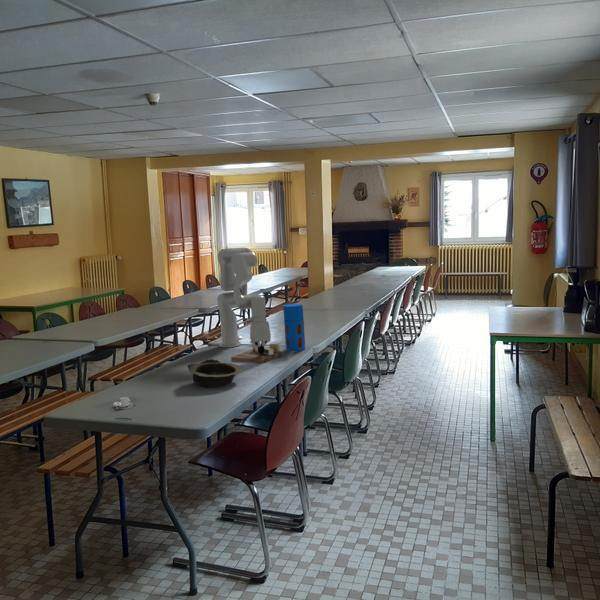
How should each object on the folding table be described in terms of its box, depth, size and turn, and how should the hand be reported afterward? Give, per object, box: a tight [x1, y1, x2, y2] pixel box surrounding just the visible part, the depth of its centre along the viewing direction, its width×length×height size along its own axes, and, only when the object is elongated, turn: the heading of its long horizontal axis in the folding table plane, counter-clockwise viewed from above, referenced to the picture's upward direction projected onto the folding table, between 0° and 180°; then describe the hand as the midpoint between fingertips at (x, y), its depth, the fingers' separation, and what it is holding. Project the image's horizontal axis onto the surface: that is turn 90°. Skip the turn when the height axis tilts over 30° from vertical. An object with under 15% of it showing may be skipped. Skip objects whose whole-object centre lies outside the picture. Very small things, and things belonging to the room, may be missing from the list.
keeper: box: [268, 342, 280, 352], centre depth 318 cm, size 2×5×4 cm, turn 59°
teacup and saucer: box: [112, 396, 131, 408], centre depth 239 cm, size 9×8×4 cm
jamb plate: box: [230, 348, 285, 365], centre depth 314 cm, size 20×20×2 cm
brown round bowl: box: [187, 359, 243, 388], centre depth 267 cm, size 25×25×9 cm
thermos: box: [283, 303, 306, 353], centre depth 328 cm, size 11×11×25 cm
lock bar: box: [252, 344, 273, 355], centre depth 315 cm, size 17×4×4 cm, turn 34°
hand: (261, 353), depth 310 cm, fingers closed
